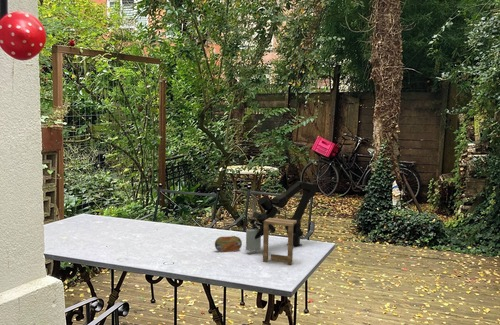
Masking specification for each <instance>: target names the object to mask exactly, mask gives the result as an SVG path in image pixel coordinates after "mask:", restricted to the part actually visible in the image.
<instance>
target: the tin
mask: <svg viewBox="0 0 500 325" xmlns="http://www.w3.org/2000/svg"><path fill="white" fill-rule="evenodd" d="M242 241H243V240H242V239H241V238H240V237H238V236H235V235H230V236H219V237H218V238H216V240H215V241H214V247H215V249H216V251H218V252H220V253H228V252H229V253H232V252H237V251H239V250H240V249H241V248H242V244H243V242H242Z"/></svg>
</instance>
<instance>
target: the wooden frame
mask: <svg viewBox="0 0 500 325" xmlns="http://www.w3.org/2000/svg"><path fill="white" fill-rule="evenodd" d="M296 223H297V220H288V218H275V217H274V218H268V219H266V220H265V221H264V234H263V236H262V237H263V238H262V239H263V242H262V244H263V245H262V246H263V247H262V262H264V263H268V262H269V236H270V235H269V234H270V230H269V224H272V225H273V226H274V225H275V226H284V227H285V226H288V234H287V244H288V245H287V255H283V254H282V255H281V254H275V253H271V254H270V261H272V262H273V261H276V262H283V263H286V264H287V266H292V265H293V255H294V250H293V249H294V247H293V225H294V224H296Z"/></svg>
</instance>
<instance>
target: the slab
mask: <svg viewBox="0 0 500 325" xmlns="http://www.w3.org/2000/svg"><path fill="white" fill-rule="evenodd" d="M259 230H260V228H259V229H257V228H255V229H252V228H249V229H246V232H245V233H246V234H245V235H246V236H245V240H246V241H245V250H246V251H249V252H254V251H260V250H261V247H262V246H261V245H262V236H261V237H259V238H257V239H255V236H256V235H257V233H258V231H259Z"/></svg>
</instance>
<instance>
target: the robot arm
mask: <svg viewBox="0 0 500 325" xmlns="http://www.w3.org/2000/svg"><path fill="white" fill-rule="evenodd" d="M300 191H301V194H302V195H301V197H300V199H299V202H298V204H297V207H296V209H295V211H294V213H293V215H292V217H291V218H290V217H288V218H287V219H288V220H297V223H296V224H294V225H293V246H294V247H295V248H297V247H301V246H302V245H303V244H302V243H301V238H302V237H303V236H304V231H303V230H302V228H301V227H302V222H301V220H302V218H303V216H304V214H305V212H306V209H307V207H308V205H309V201H310V200H311V199H312V198H313V197H314V196H315V195H316V193H317V191H318V185H317V184H316V183H312V182H305V181H300V180H299V181H296V182H295V183H294V184H293V185H292V186H291V187H289V188H288V189H287V190H285V191H284V192H283V193H281V194H277V195H276V196H274V197H273V198H270V196H269V195H267V194H265V195H264V196H262V197H260V198H259V199H257V204H258V205H259V206H260V207H261V209H262V210H263V211H265V212H257V211H253V214H252V217H250V218H249V219H248V221H247V222H248V223H249V224H250V225H251V227H252V228H251V229H255V228H257V229H260V230H259V231H258V233H257V235H256V236H255V239H257V238H259V237H261V238H262V237H263V234H264V221H265V220H266V219H268V218H275V217H276V216H277V215H281V210H280V209H283V208H285V207H286V206H287V205H288V202H289V200H291V199H292V198H293V197H294V196H295V195H296V194H298V193H299V192H300ZM278 208H279V209H278ZM284 229H285V231H286V234H287V235H288V226H284ZM276 231H277V230H276V227H275V226H274V224H269V234H270V233H271V234H273V235H274V234H275V232H276ZM286 245H287V246H288V243H287V244H286ZM300 245H301V246H300ZM294 247H293V248H294Z"/></svg>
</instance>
